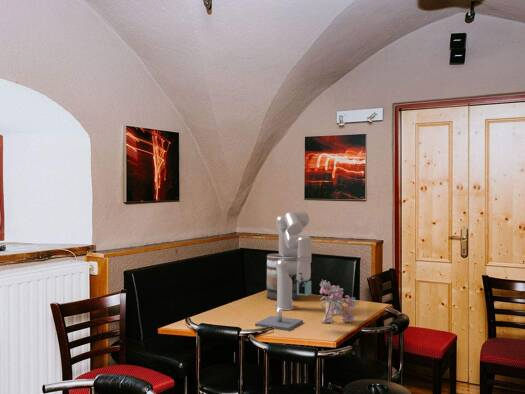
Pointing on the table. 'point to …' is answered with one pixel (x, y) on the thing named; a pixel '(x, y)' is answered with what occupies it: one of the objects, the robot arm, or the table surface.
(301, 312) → the table surface
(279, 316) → the duct stub
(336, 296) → the flower
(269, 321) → the base plate
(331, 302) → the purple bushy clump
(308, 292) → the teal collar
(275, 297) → the barrel
